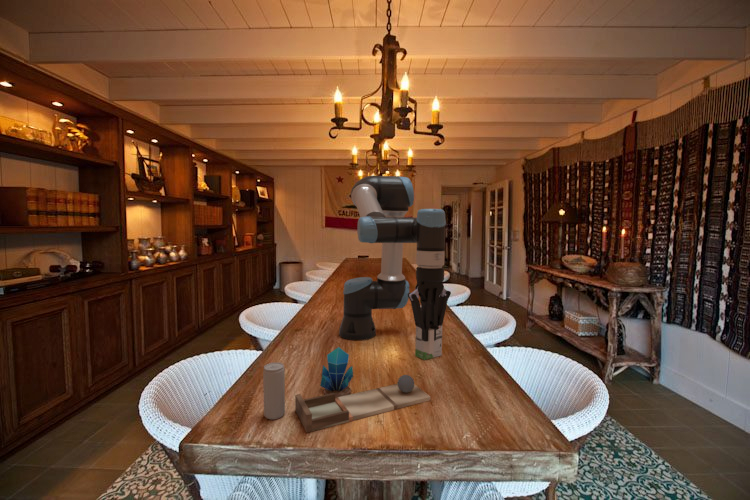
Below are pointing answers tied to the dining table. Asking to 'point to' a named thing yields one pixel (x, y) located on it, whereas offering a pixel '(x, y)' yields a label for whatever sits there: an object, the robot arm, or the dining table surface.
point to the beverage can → (274, 390)
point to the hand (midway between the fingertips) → (428, 352)
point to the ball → (406, 383)
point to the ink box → (420, 344)
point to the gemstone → (337, 374)
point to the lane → (353, 406)
